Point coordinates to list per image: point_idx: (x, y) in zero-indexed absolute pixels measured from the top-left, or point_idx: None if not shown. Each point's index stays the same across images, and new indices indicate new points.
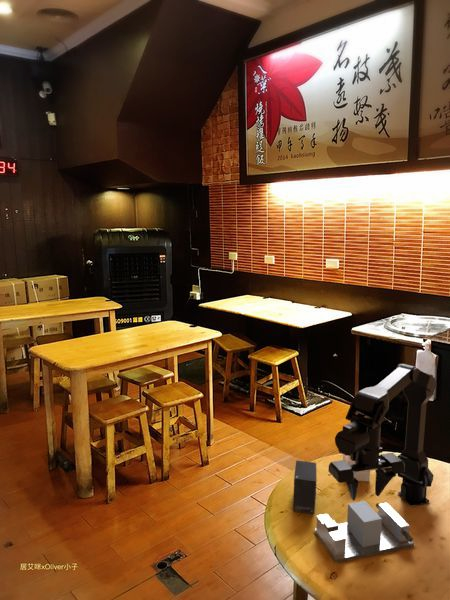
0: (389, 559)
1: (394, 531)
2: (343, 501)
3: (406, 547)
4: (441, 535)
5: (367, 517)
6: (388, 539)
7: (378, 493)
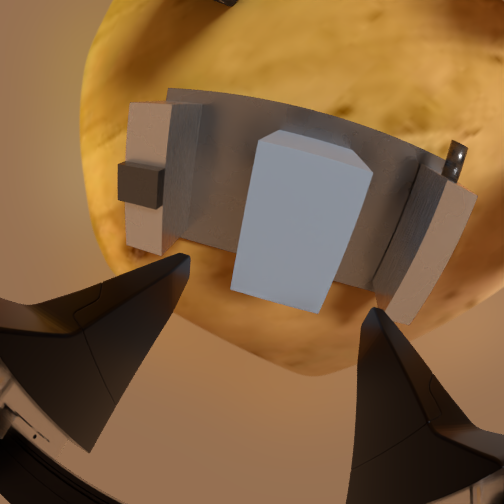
0: None
1: (388, 264)
2: (391, 5)
3: None
4: (479, 298)
5: (267, 278)
6: (358, 253)
7: (359, 352)
